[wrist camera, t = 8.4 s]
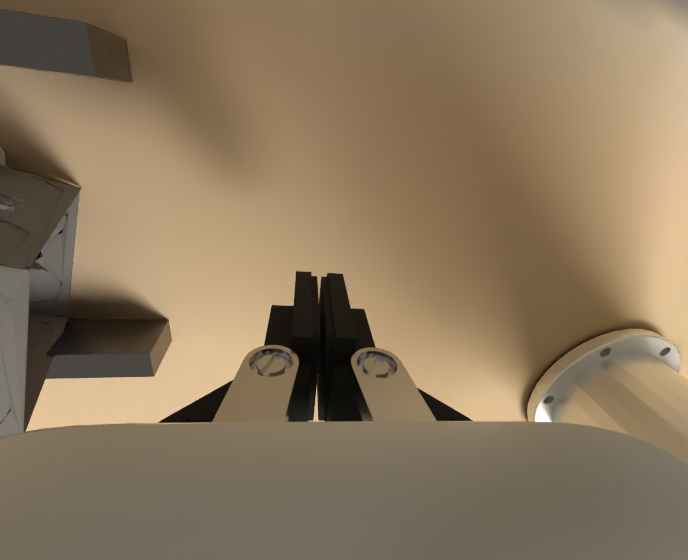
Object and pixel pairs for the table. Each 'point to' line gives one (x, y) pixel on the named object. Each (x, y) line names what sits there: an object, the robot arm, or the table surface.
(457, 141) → the table surface
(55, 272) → the electrical switch
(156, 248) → the table surface
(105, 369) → the rail mount
